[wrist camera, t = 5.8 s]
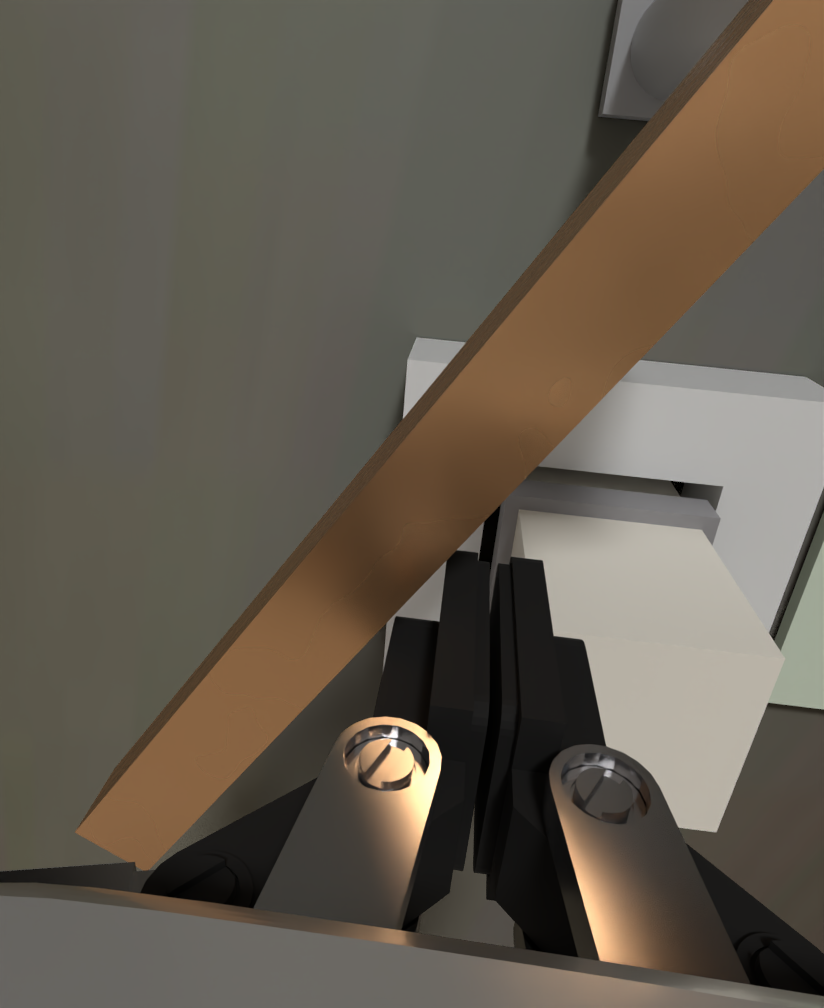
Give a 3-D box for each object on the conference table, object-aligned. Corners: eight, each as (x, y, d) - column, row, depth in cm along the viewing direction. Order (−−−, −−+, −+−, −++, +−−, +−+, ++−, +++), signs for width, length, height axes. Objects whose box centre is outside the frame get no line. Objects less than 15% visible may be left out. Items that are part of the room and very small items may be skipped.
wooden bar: (1033, -498, 6) (1275, -796, 4) (1233, -206, 7) (1517, -354, 5) (77, 746, 13) (15, 832, 12) (213, 826, 14) (174, 920, 12)
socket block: (934, -6, 17) (1768, -355, 6) (701, 684, 26) (860, 1040, 15) (448, -43, 17) (397, -425, 6) (390, 646, 27) (329, 963, 16)
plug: (677, 459, 22) (812, 645, 13) (637, 606, 25) (728, 846, 16) (501, 440, 23) (516, 609, 14) (479, 587, 25) (480, 813, 16)
